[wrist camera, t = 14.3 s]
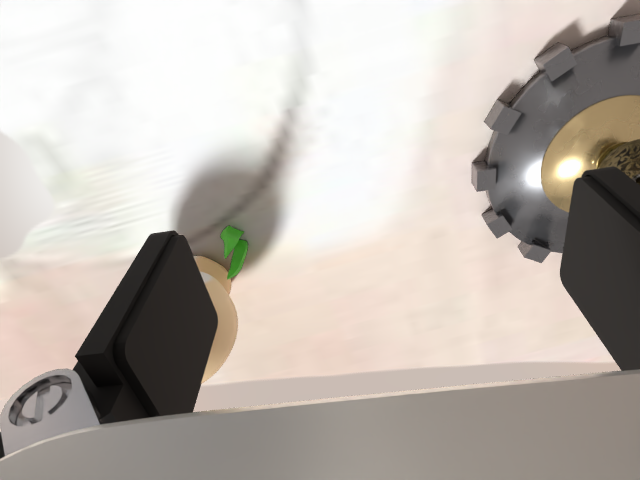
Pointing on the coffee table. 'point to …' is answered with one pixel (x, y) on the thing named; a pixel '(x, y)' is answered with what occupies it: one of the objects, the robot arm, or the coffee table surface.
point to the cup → (622, 158)
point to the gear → (559, 135)
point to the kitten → (222, 297)
